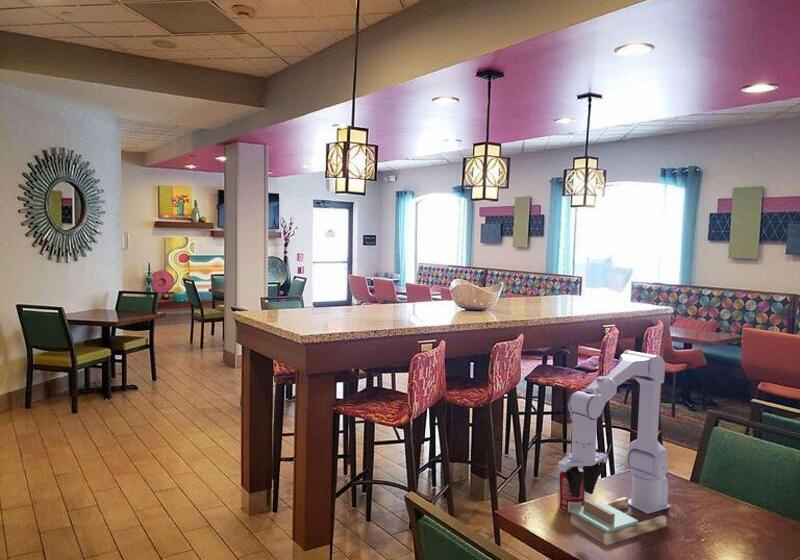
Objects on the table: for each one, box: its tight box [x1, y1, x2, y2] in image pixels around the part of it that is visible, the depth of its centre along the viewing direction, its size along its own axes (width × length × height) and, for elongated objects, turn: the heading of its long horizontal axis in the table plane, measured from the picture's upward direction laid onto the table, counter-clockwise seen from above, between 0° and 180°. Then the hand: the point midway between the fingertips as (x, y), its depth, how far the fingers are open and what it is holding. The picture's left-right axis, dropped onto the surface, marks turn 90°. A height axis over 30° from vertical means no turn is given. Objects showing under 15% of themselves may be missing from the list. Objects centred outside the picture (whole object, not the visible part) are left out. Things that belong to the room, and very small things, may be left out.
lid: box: [571, 498, 639, 533], centre depth 147 cm, size 11×12×3 cm
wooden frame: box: [570, 496, 667, 546], centre depth 150 cm, size 22×13×2 cm, turn 118°
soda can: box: [557, 467, 586, 516], centre depth 157 cm, size 7×7×12 cm
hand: (581, 494), depth 143 cm, fingers open, 4 cm apart
